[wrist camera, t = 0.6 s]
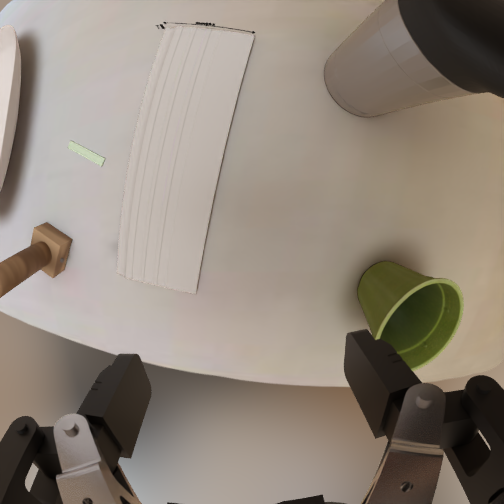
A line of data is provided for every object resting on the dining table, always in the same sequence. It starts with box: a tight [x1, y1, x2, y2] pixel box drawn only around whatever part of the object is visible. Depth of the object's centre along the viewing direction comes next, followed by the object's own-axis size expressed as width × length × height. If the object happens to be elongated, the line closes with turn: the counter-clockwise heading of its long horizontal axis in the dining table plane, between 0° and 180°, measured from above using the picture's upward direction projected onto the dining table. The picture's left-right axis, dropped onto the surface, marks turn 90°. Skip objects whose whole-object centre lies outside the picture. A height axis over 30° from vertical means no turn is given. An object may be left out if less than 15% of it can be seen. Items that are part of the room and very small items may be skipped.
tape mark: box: [68, 141, 105, 166], centre depth 27 cm, size 1×6×1 cm, turn 59°
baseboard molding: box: [117, 22, 255, 294], centre depth 27 cm, size 31×3×12 cm
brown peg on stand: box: [0, 222, 72, 298], centre depth 22 cm, size 5×5×18 cm
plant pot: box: [357, 261, 464, 371], centre depth 29 cm, size 12×12×11 cm
